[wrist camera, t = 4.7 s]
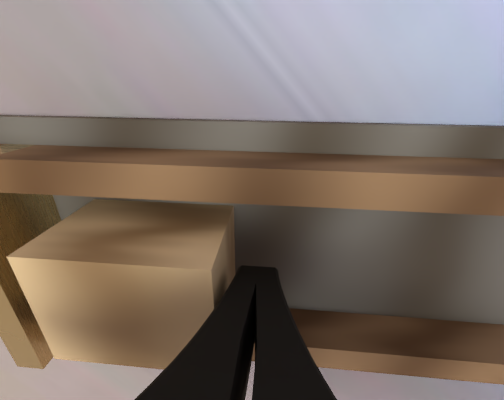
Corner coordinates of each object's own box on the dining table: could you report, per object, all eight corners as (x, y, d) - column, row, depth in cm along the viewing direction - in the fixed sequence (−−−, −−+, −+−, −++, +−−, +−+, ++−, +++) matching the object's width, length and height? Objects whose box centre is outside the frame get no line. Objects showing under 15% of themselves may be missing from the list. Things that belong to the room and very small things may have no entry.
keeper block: (233, 205, 11) (211, 270, 7) (235, 289, 13) (218, 374, 9) (94, 199, 11) (6, 256, 8) (116, 281, 13) (54, 358, 9)
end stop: (43, 142, 11) (-59, 170, 7) (96, 303, 14) (43, 368, 11) (16, 141, 11) (-96, 168, 8) (75, 302, 15) (17, 366, 11)
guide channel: (624, 128, 9) (740, 145, 6) (493, 350, 13) (535, 403, 11) (-3, 115, 10) (-76, 124, 8) (74, 315, 15) (40, 354, 13)
